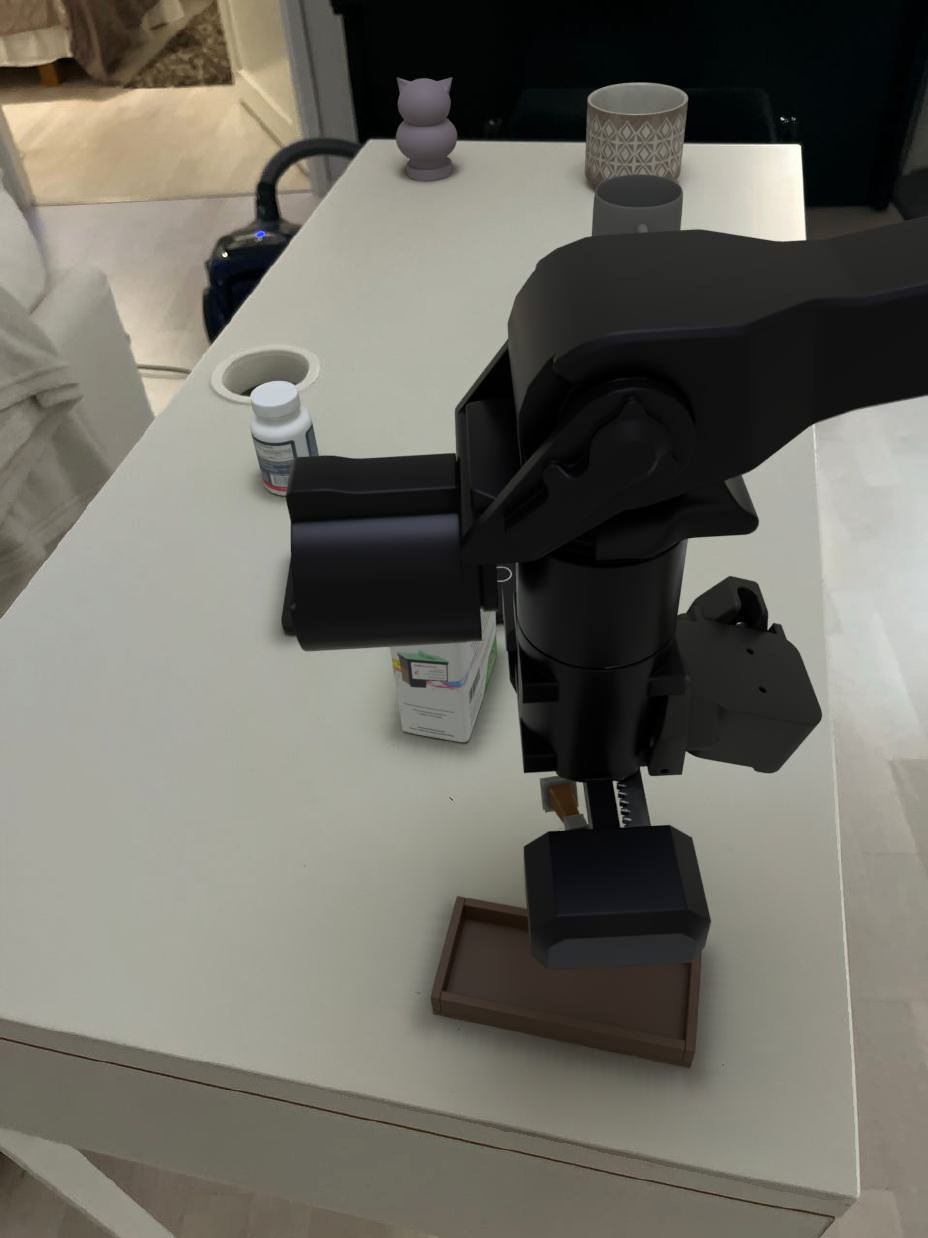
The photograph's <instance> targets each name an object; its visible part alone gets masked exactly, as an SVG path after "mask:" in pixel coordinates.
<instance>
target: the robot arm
mask: <svg viewBox="0 0 928 1238" xmlns="http://www.w3.org/2000/svg"><path fill="white" fill-rule="evenodd" d="M924 397H928V215H924V216H920V217H915V218H911V219H907V220H903V221H902V220H901V221H899V222H893V223H889V224H884V225H881V226H875V227H872V228H867V229H862V230H858V231H853V232H850V233H849V232H848V233H844V234H840V235H835V236H830V237H827V238H819V239H816V238H815V239H801V240H798V239H797V240H783V241H782V240H773V239H765V238H759V237H753V236H746V235H740V234H733V233H727V232H723V231H722V232H721V231H715V230H708V229H701V228H699V229H697V228H695V229H680V230H675V231H658V232H641V233H623V234H606V235H597V236H592V235H591V236H585V237H581V238H580V239H576V240H575V241H572V242H569V243H566V244H564V245H562V246H559V247H557V248H555V249H553V250H552V251H550V252H549V253H548V254H546V255H545V256H544V257H542V258H541V259H539V260H538V261H537V263H536V264H535V268H534V270H533V271H532V272H531V273H530V275H529V276H528V278H527V279H526V281H525V282H524V284H523V285H522V287H520V290H519V291H518V292H517V293H516V295H515V297H514V300H513V304H512V307H511V310H510V313H509V317H508V320H507V339H506V340H505V341H504V343H503V344H502V346H501V347H500V348H499V350H498V351H497V352H496V353H495V355H494V356H493V357H492V359H491V360H490V362H489V363H488V364H487V365H486V367H485V368H484V369H483V371H482V372H481V373H480V375H479V376H478V377H477V378H476V379H475V381H474V383H473V384H472V385H471V386H470V388H469V389H468V390H467V392H466V393H465V394H464V396H463V397H462V398H461V399H460V400H459V402H458V404H457V405H456V406H455V408H454V433H455V452H447V453H430V454H429V453H428V454H414V455H412V454H411V455H398V456H394V455H393V456H381V457H380V456H379V457H362V458H355V457H347V456H339V455H325V454H324V455H319V456H307V457H296V458H295V459H294V460H293V461H292V462H291V467H290V473H289V479H288V485H287V491H286V496H284V497H285V498H284V499H285V502H286V507H287V511H288V516H289V520H290V559H291V567H292V579H293V591H292V598H291V605H290V612H291V618H292V623H293V627H294V631H295V632H294V634H295V637H296V640H297V642H298V644H299V646H300V648H301V650H302V651H304V652H323V651H338V650H342V651H343V650H356V649H357V650H359V649H375V648H376V649H378V648H390V647H396V646H413V645H431V644H449V643H467V642H472V641H482V628H481V611H480V609H483V611H484V612H493V611H498V583H497V564H503V563H516V574H515V575H513V576H512V577H511V578H510V579H509V580H507V581H506V582H505V583H504V584H502V599H503V619H504V621H503V630H504V644H505V651H506V652H507V661H508V675H509V682H510V684H511V686H512V688H513V690H514V693H515V694H516V700H517V701H516V703H517V713H518V725H519V735H520V745H521V746H520V747H521V758H522V771H523V774H534V773H551V772H552V773H553V772H554V773H555V774H556V776H559V777H561V778H564V779H567V780H571V781H575V782H576V783H579V784H581V783H582V786H583V787H582V788H583V795H584V802H585V809H586V816H587V824H589V829H581V830H565V829H563V830H549V831H547V832H545V833H543V834H541V835H540V836H538V837H537V838H535V839H534V840H532V841H530V842H529V843H527V844H525V845H524V846H522V847H523V872H524V873H523V874H524V875H523V876H524V890H525V902H526V909H527V917H528V929H529V942H530V954H531V957H533V958H534V959H535V960H536V961H537V962H539V963H540V964H541V965H542V966H543V967H545V968H546V969H547V970H559V969H579V968H598V967H618V966H638V965H657V964H677V963H692V962H693V961H694V960H695V959H696V957H697V956H698V955H699V954H700V952H701V951H702V952H703V950H704V949H705V948H706V944H707V940H708V936H709V931H710V927H711V925H712V924H711V923H712V919H711V914H710V910H709V905H708V900H707V896H706V892H705V887H704V884H703V879H702V874H701V870H700V866H699V860H698V856H697V852H696V849H695V843H694V839H693V837H692V836H691V835H688V834H687V833H686V832H683V831H681V830H680V829H678V828H677V827H675V826H673V825H671V824H658V825H657V824H656V825H652V822H651V817H650V812H649V808H648V802H647V797H646V792H645V787H644V782H643V781H644V780H643V776H642V772H641V771H642V770H641V768H644V767H645V768H647V773H648V776H650V777H666V776H682V775H683V770H684V766H685V765H684V764H685V759H686V758H685V757H686V755H687V753H688V754H689V755H691V756H693V757H695V758H699V759H703V760H708V761H714V762H718V763H724V764H731V765H734V766H735V765H736V766H742V767H748V768H752V770H754V772H757V773H761V774H774V773H777V772H779V771H780V770H781V768H782V767H783V766H784V765H785V764H786V762H787V761H788V760H789V759H790V758H791V756H792V755H793V754H794V753H795V752H796V751H797V750H798V749H799V747H800V746H801V745H802V744H803V743H804V742H805V740H806V739H807V738H808V737H809V736H810V734H811V733H812V732H813V731H814V730H815V728H817V726H818V725H819V724H820V723H821V721H822V719H823V710H822V707H821V705H820V702H819V699H818V697H817V694H816V692H815V690H814V686H813V684H812V681H811V678H810V676H809V673H808V670H807V667H806V665H805V663H804V660H803V657H802V654H801V652H800V651H799V649H798V648H797V647H796V645H795V644H793V642H791V641H790V640H789V639H787V636H786V633H785V630H784V628H783V625H782V624H781V623H776V622H772V624H771V625H770V626H769V610H768V607H767V604H766V601H765V599H764V596H763V593H762V590H761V588H760V585H759V583H758V582H757V581H755V580H751V579H747V578H742V577H738V576H731V575H728V576H727V577H725V578H724V579H722V580H721V581H719V582H717V583H716V584H715V585H713V586H711V588H708V589H707V590H706V591H704V592H703V593H701V594H700V595H698V596H697V597H695V599H693V601H692V602H691V603H690V605H689V607H688V609H687V611H686V612H682V613H679V609H680V600H681V594H682V587H683V579H684V573H685V564H686V557H687V552H688V551H687V550H688V544H689V539H697V538H698V539H700V538H716V537H717V538H718V537H732V536H735V537H736V536H747V535H751V534H753V533H755V531H757V529H758V528H759V526H760V518H759V516H758V514H757V511H756V508H755V505H754V503H753V501H752V498H751V495H750V493H749V490H748V488H747V485H746V482H745V480H744V477H743V475H746V474H748V473H750V472H752V471H754V470H755V469H757V468H758V467H760V466H761V465H762V464H763V463H765V462H766V461H767V460H768V459H770V458H772V456H774V455H775V454H776V453H778V452H779V451H780V450H781V449H783V448H784V447H785V446H787V445H788V444H789V443H791V442H792V441H793V440H795V438H797V437H798V436H800V435H801V434H802V433H803V432H804V431H806V430H807V429H809V428H810V427H812V426H813V425H817V424H819V423H822V422H825V421H828V420H831V419H833V418H834V419H835V418H838V417H840V416H842V415H845V414H849V413H851V412H856V411H860V410H864V409H869V408H874V407H878V406H883V405H889V404H893V403H899V402H903V401H904V402H905V401H910V400H914V399H919V398H924ZM614 782H615V783H616V786H614ZM615 787H616V790H617V797H616V792H615ZM616 798H618V799H619V800H618V801H619V802H618V804H617V799H616ZM618 805H619V807H621V808H620V815H621V816H622V818H621V821H620V815H619V810H618ZM621 823H622V825H623V826H622V827H621Z"/></svg>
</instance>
